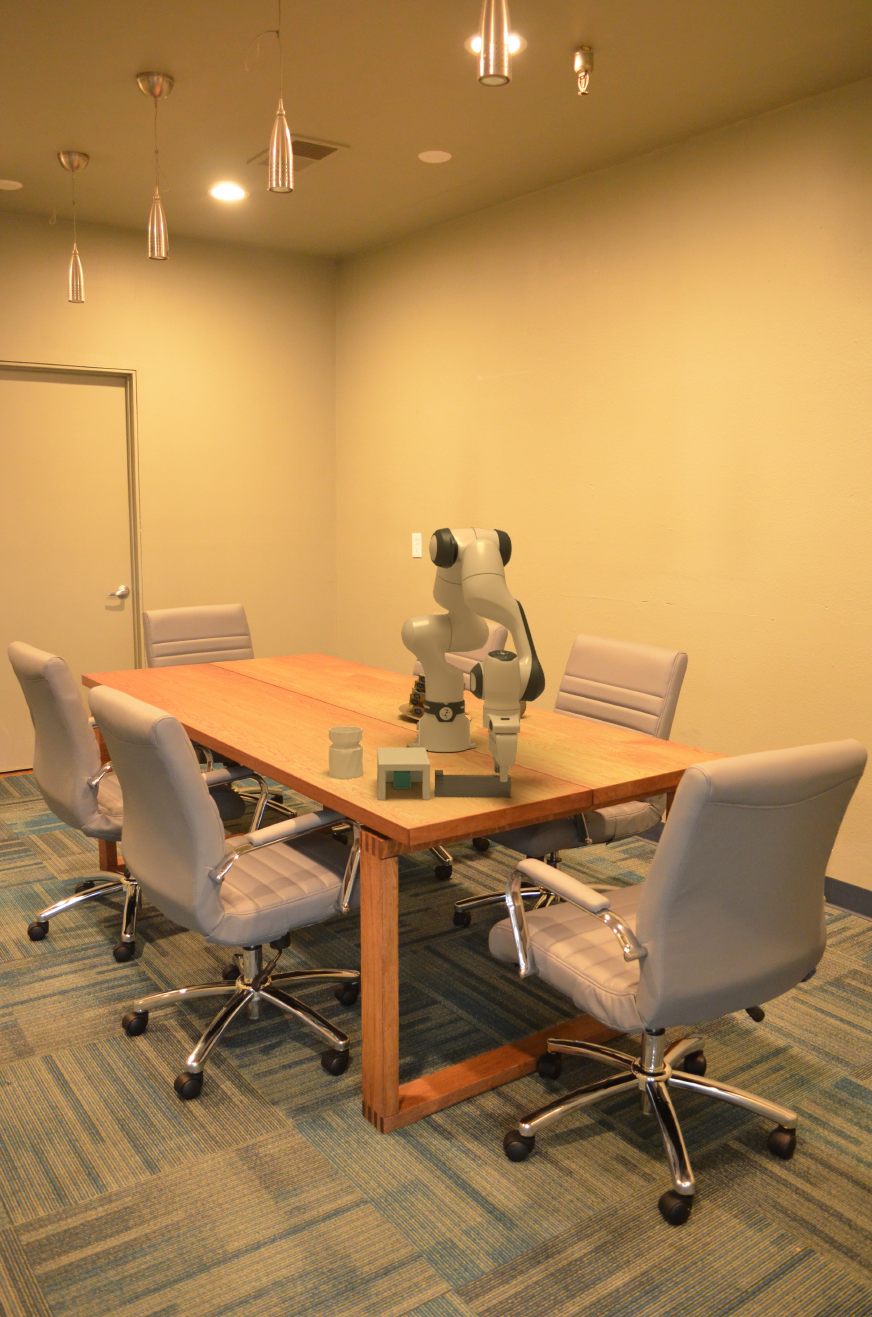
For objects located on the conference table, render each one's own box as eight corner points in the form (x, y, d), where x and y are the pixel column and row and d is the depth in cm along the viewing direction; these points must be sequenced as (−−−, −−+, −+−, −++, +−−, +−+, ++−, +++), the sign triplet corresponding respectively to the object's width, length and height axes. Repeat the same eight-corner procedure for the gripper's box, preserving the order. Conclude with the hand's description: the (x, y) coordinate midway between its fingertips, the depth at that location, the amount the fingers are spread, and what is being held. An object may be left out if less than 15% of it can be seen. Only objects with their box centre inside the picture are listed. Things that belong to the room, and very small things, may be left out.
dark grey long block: (434, 790, 241) (434, 770, 240) (508, 790, 241) (508, 770, 241) (434, 797, 235) (435, 776, 234) (510, 797, 235) (510, 777, 234)
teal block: (393, 785, 246) (393, 769, 245) (409, 784, 246) (409, 769, 245) (394, 789, 242) (394, 773, 241) (410, 789, 242) (410, 773, 241)
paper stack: (486, 718, 336) (487, 669, 334) (442, 728, 316) (443, 677, 314) (429, 709, 351) (429, 662, 349) (383, 719, 331) (384, 669, 329)
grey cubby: (377, 780, 249) (377, 747, 248) (424, 780, 250) (425, 747, 249) (378, 800, 231) (378, 764, 230) (429, 799, 232) (430, 764, 231)
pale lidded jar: (366, 777, 252) (366, 731, 250) (333, 780, 249) (333, 733, 247) (357, 770, 260) (357, 725, 259) (325, 772, 257) (325, 727, 256)
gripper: (482, 712, 244) (482, 767, 246) (494, 727, 224) (493, 787, 226) (508, 712, 245) (507, 766, 246) (521, 727, 225) (520, 786, 226)
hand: (500, 776), depth 236 cm, fingers open, 8 cm apart
